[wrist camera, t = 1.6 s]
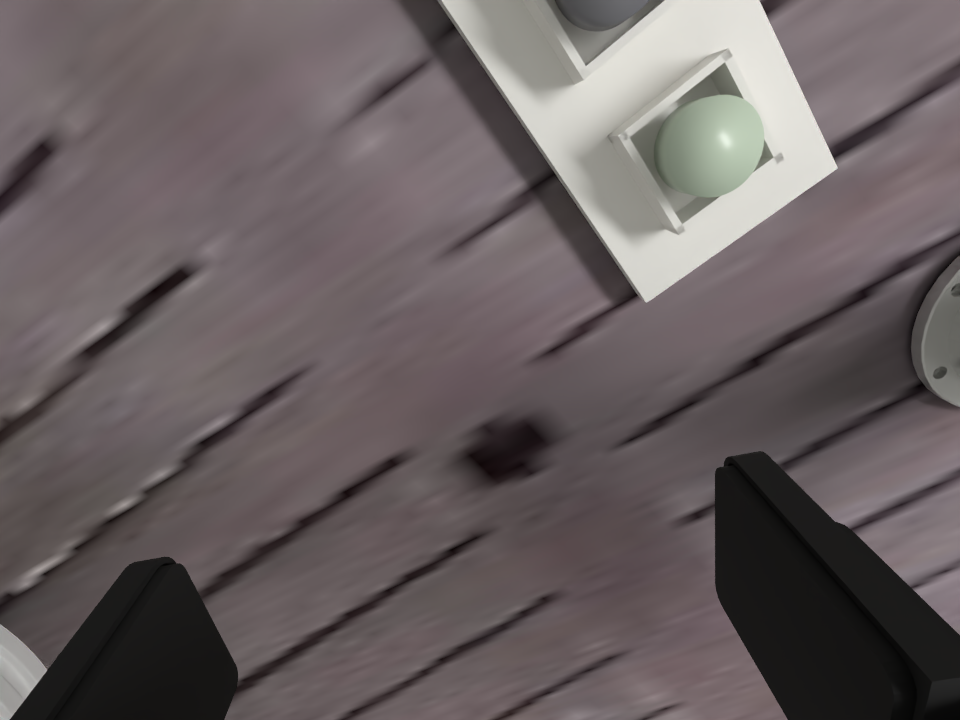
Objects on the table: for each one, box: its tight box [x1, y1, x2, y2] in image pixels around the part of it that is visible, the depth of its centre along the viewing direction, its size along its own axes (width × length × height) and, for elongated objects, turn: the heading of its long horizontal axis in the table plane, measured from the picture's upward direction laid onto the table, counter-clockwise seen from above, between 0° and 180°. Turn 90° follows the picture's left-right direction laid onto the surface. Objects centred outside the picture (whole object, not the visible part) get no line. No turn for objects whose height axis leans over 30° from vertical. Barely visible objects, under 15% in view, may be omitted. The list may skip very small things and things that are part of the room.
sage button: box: [654, 95, 764, 198], centre depth 25 cm, size 4×4×2 cm
